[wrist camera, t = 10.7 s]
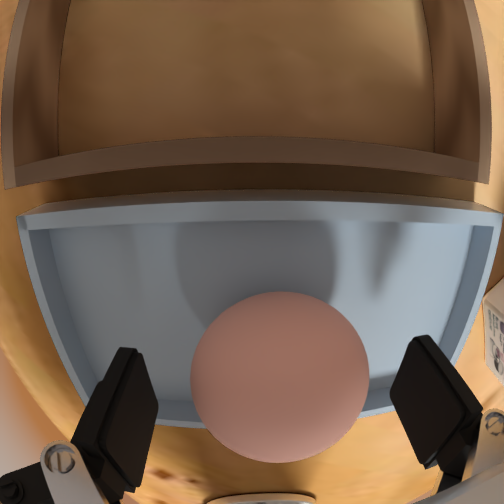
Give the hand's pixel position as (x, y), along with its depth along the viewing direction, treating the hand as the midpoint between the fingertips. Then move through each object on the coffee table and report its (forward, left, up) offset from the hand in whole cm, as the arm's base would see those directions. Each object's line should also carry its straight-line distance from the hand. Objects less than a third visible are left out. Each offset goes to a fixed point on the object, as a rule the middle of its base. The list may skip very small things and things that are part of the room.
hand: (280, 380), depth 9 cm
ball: (0, 0, -3) cm, 3 cm away
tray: (0, 0, -4) cm, 4 cm away
